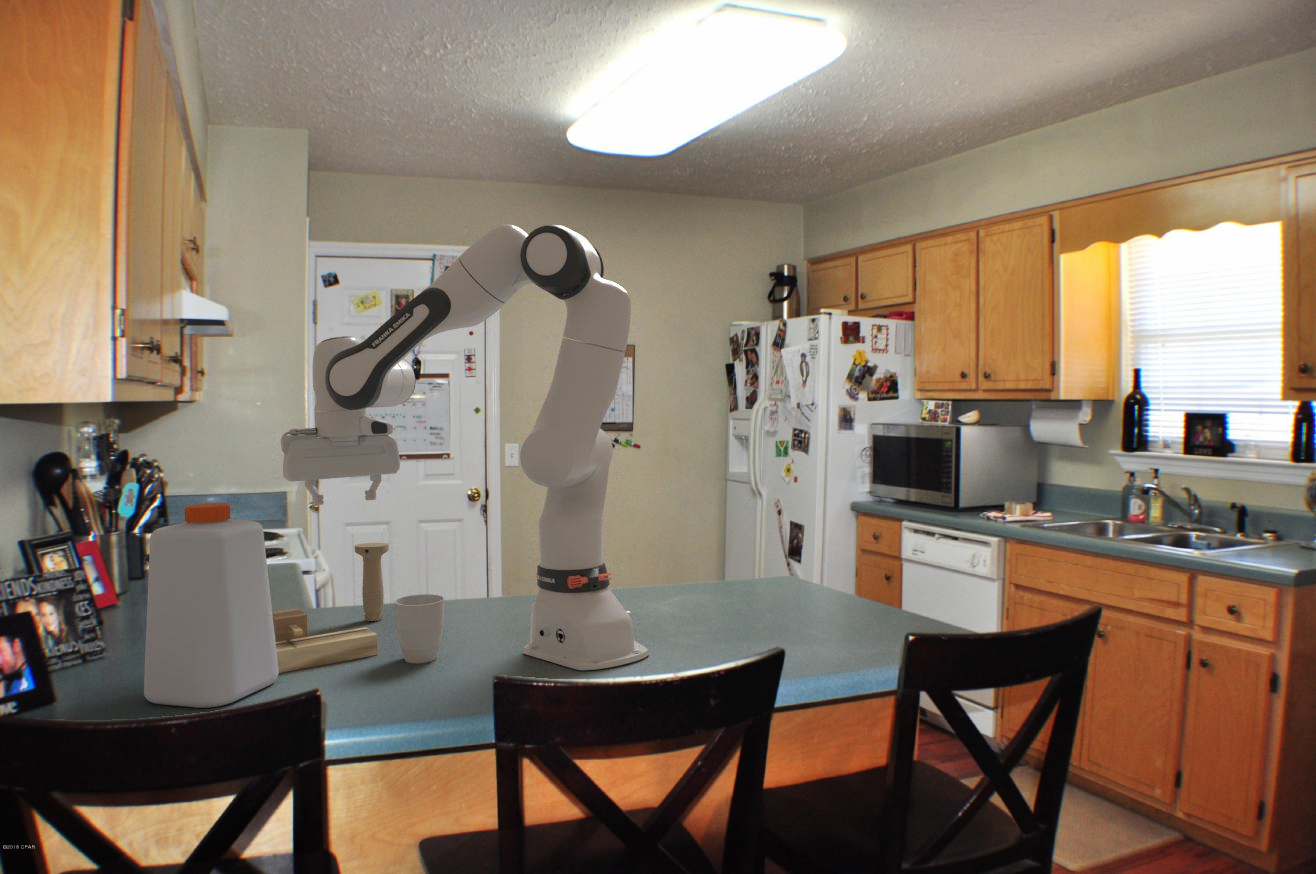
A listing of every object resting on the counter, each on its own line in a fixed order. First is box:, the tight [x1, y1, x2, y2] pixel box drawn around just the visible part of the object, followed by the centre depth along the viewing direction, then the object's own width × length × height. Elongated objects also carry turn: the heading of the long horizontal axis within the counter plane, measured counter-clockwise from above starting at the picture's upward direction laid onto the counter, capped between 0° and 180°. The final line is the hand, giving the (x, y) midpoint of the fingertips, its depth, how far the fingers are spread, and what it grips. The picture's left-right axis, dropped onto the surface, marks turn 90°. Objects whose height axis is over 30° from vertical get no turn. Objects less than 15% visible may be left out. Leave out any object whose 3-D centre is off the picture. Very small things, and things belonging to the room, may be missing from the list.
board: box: [275, 626, 379, 674], centre depth 143 cm, size 6×16×4 cm, turn 126°
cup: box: [393, 593, 446, 664], centre depth 142 cm, size 8×8×10 cm
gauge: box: [272, 607, 309, 642], centre depth 144 cm, size 11×5×7 cm, turn 36°
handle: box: [354, 542, 390, 623], centre depth 168 cm, size 5×6×15 cm
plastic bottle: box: [143, 502, 280, 709], centre depth 127 cm, size 15×15×28 cm
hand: (344, 502), depth 156 cm, fingers open, 8 cm apart
